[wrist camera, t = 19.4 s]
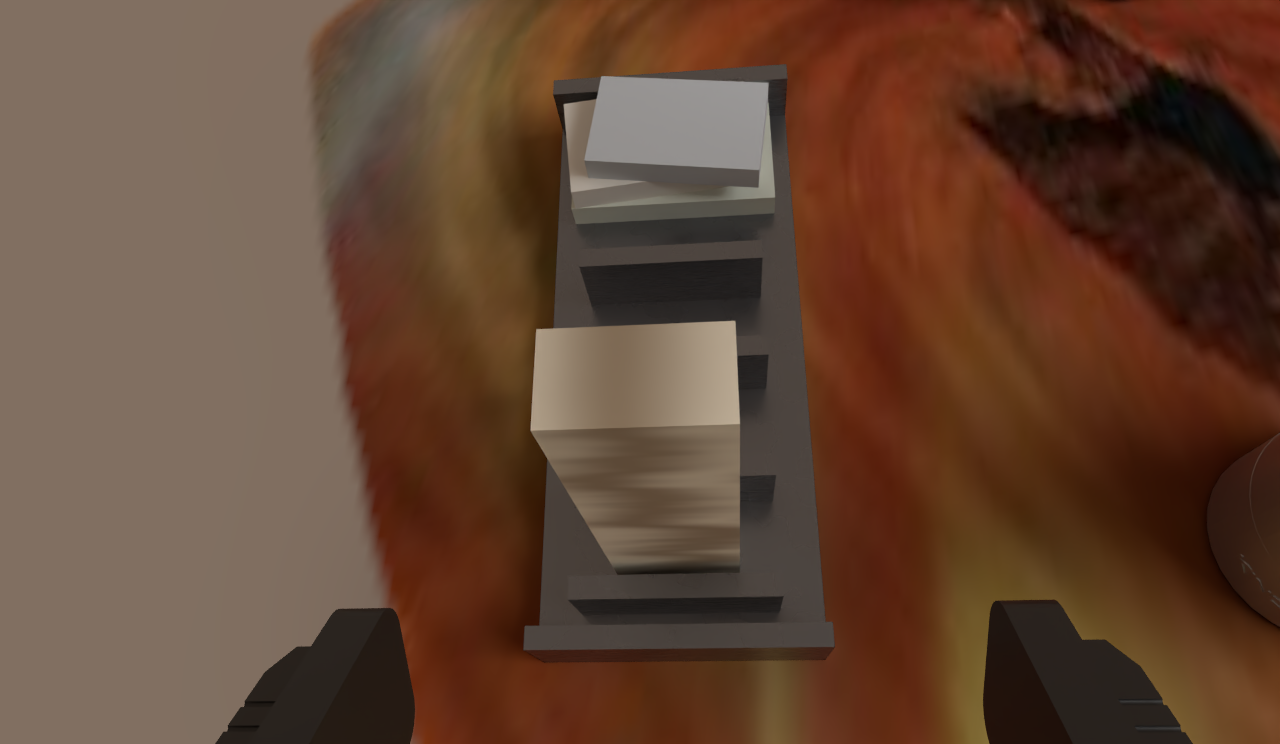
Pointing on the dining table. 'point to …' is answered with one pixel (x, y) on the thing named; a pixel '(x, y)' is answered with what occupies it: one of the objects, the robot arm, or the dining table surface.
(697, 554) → the beige tall block
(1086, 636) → the dining table surface
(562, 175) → the rack
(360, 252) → the dining table surface
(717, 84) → the offcut stack
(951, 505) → the dining table surface
